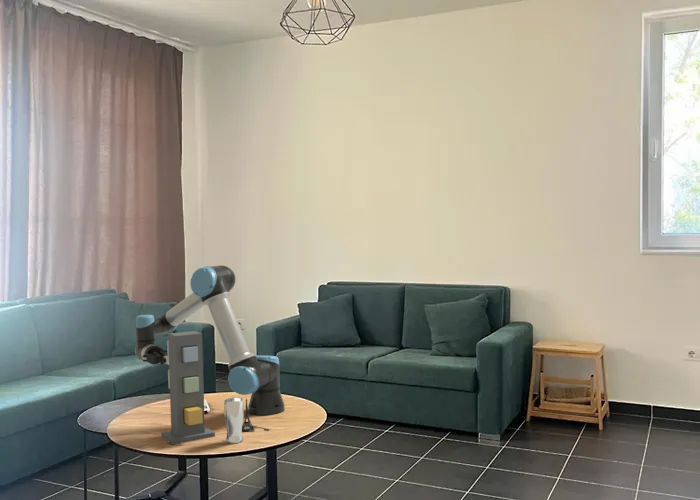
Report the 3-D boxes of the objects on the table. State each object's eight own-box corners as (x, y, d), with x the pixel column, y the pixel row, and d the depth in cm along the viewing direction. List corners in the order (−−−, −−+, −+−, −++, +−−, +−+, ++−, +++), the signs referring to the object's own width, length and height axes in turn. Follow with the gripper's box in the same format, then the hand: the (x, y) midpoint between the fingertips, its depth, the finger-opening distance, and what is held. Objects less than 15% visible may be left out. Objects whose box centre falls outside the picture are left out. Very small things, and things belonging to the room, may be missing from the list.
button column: (161, 436, 251) (158, 333, 250) (203, 429, 260) (200, 329, 259) (171, 444, 241) (168, 337, 240) (214, 436, 250) (211, 333, 249)
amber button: (171, 418, 255) (171, 400, 255) (189, 415, 259) (189, 397, 258) (186, 428, 241) (185, 409, 241) (205, 425, 245) (204, 405, 245)
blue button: (167, 359, 257) (167, 340, 257) (185, 357, 261) (185, 338, 260) (182, 365, 243) (181, 346, 243) (200, 363, 247) (200, 343, 246)
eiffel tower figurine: (272, 431, 257) (271, 395, 256) (252, 437, 249) (251, 401, 248) (244, 425, 266) (243, 391, 266) (225, 431, 258) (224, 396, 258)
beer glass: (225, 438, 246) (224, 397, 246) (245, 437, 247) (243, 396, 247) (223, 444, 239) (222, 402, 239) (243, 443, 240) (242, 401, 240)
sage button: (168, 388, 257) (167, 369, 257) (186, 385, 261) (186, 367, 261) (182, 396, 243) (182, 376, 243) (201, 393, 247) (201, 374, 247)
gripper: (168, 361, 287) (187, 368, 267) (137, 365, 280) (154, 373, 260) (168, 343, 287) (186, 349, 267) (136, 347, 280) (153, 353, 260)
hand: (170, 361), depth 263 cm, fingers closed
